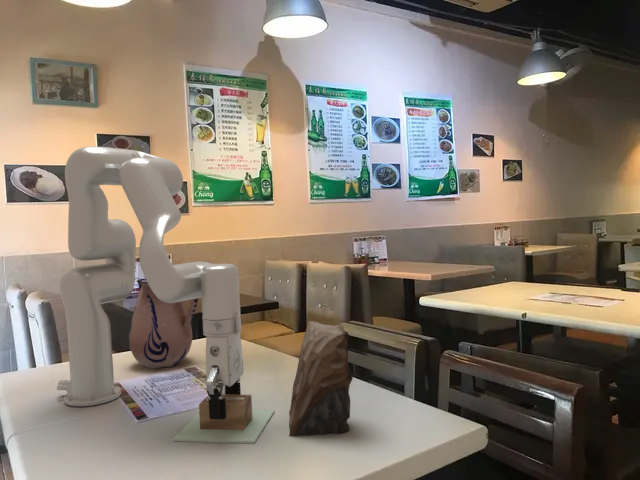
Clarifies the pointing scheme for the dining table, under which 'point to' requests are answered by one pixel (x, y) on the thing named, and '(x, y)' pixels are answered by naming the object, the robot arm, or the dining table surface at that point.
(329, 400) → the brown rock
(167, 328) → the ceramic pitcher
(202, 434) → the mat
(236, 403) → the cardboard box
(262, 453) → the dining table surface
